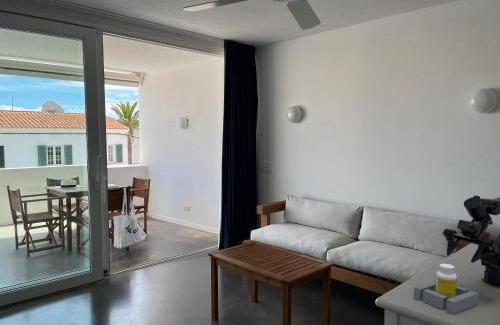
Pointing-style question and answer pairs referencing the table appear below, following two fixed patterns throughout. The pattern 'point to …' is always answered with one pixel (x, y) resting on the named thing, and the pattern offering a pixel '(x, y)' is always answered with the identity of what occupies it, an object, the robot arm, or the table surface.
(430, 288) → the cup holder
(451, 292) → the supplement bottle
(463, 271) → the table surface
